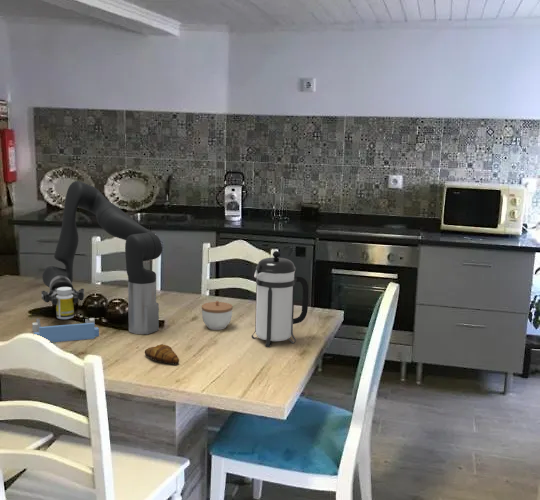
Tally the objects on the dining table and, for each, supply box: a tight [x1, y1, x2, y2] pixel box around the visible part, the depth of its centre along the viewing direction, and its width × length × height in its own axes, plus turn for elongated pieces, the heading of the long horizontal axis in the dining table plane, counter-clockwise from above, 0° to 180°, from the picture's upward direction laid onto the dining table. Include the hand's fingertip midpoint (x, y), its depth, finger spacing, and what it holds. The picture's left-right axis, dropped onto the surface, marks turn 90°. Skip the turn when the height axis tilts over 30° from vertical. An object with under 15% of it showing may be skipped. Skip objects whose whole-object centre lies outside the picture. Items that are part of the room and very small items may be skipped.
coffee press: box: [251, 250, 309, 348], centre depth 213 cm, size 17×16×30 cm
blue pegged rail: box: [31, 317, 100, 343], centre depth 219 cm, size 24×20×5 cm
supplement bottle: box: [55, 287, 75, 320], centre depth 211 cm, size 6×5×10 cm
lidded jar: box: [201, 300, 234, 331], centre depth 227 cm, size 11×11×9 cm
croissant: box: [144, 343, 180, 365], centre depth 194 cm, size 14×7×5 cm, turn 53°
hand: (65, 301), depth 209 cm, fingers closed on supplement bottle, 5 cm apart
